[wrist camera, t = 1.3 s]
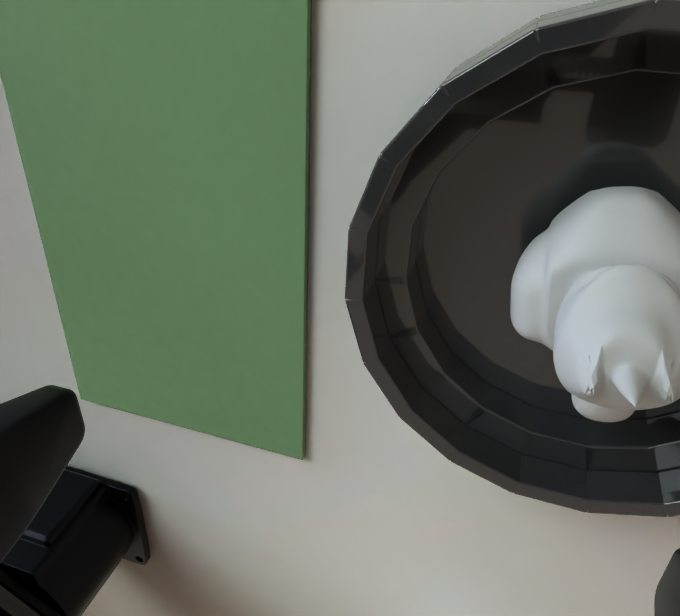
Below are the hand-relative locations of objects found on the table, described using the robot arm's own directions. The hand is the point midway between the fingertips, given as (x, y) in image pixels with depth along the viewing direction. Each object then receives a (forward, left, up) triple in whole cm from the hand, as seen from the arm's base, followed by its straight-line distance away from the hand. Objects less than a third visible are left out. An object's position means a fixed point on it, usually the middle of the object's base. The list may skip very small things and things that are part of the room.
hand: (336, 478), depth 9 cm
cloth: (-4, +11, -13) cm, 17 cm away
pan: (-2, -5, -13) cm, 14 cm away
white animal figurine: (-2, -5, -13) cm, 14 cm away
